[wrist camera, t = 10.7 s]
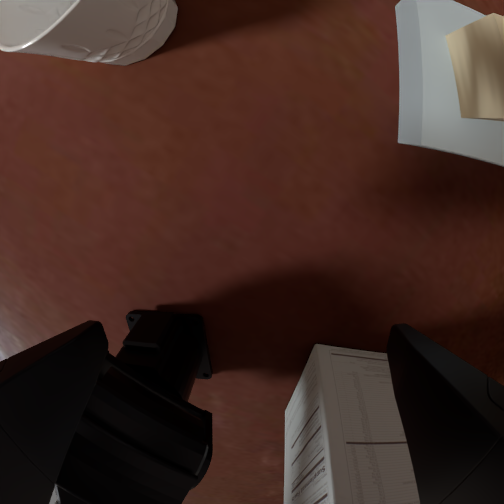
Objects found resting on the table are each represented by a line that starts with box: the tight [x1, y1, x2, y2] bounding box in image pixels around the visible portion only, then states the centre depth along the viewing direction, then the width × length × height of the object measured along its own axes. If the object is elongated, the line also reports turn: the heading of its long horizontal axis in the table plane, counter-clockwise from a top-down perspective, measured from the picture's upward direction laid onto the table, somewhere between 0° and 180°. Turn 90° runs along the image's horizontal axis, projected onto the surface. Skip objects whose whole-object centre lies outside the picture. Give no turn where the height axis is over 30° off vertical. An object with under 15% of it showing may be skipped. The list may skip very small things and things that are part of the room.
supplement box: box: [284, 344, 420, 504], centre depth 16 cm, size 10×9×17 cm
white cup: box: [0, 0, 178, 66], centre depth 10 cm, size 8×8×10 cm
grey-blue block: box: [395, 0, 504, 167], centre depth 13 cm, size 10×10×4 cm
